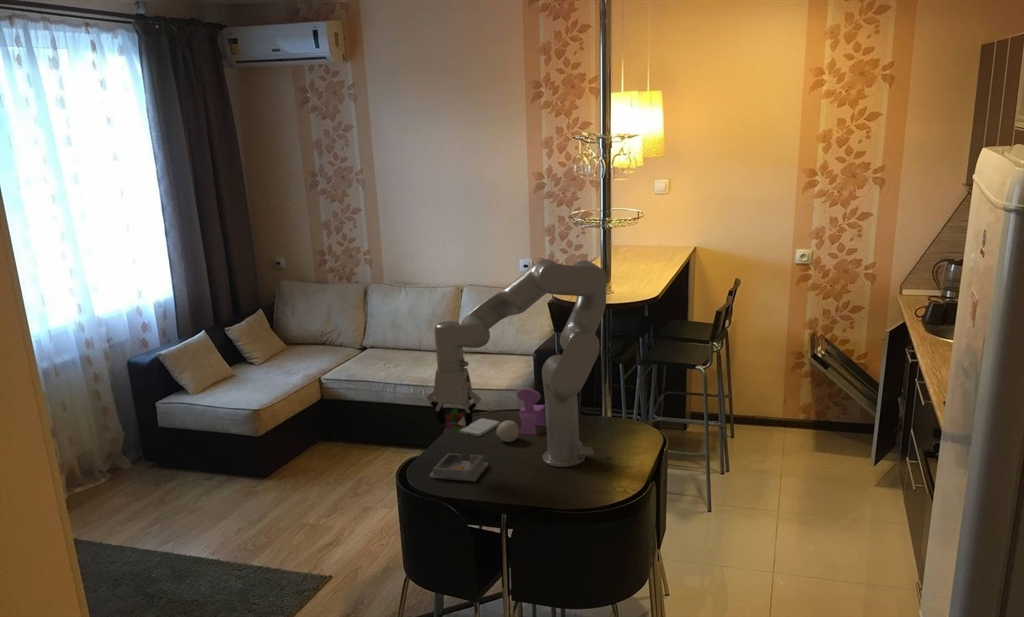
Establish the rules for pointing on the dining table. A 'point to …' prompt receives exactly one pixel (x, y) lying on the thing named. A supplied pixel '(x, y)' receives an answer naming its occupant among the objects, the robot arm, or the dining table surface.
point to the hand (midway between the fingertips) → (455, 423)
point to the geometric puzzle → (455, 420)
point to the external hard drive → (480, 427)
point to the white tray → (459, 468)
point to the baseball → (508, 431)
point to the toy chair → (530, 411)
